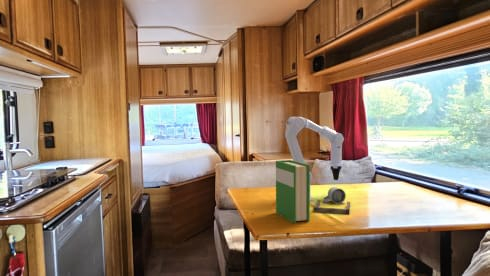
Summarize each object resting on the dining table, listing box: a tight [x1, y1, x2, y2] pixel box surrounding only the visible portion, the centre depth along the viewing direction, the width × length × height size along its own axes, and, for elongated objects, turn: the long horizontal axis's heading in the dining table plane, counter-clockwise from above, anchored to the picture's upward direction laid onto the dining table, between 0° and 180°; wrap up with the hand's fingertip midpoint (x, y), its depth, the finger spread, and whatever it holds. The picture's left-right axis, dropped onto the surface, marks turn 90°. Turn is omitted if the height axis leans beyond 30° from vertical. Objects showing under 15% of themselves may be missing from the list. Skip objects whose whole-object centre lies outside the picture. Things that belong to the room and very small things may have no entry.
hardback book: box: [275, 159, 311, 224], centre depth 159 cm, size 18×7×24 cm, turn 20°
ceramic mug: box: [322, 186, 347, 205], centre depth 186 cm, size 11×8×8 cm
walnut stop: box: [313, 199, 351, 215], centre depth 173 cm, size 16×15×2 cm
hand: (336, 179), depth 197 cm, fingers closed
